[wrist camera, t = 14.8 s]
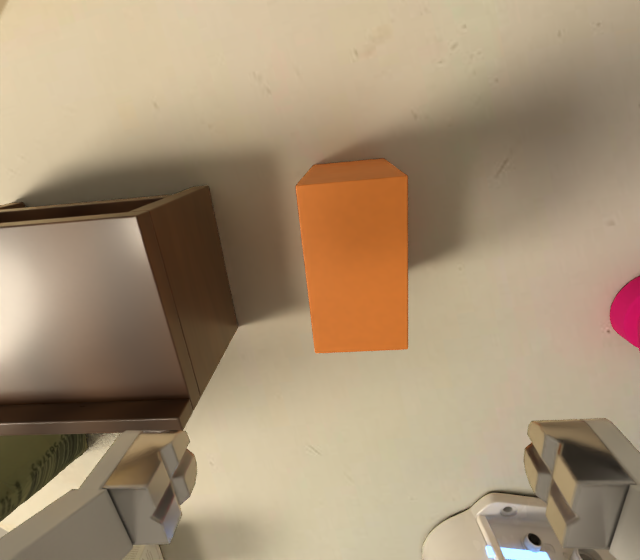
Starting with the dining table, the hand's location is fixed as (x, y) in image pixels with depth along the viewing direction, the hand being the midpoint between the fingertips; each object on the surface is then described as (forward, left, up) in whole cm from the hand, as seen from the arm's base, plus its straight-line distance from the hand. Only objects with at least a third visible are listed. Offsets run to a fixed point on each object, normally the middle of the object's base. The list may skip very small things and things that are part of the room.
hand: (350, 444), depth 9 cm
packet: (0, 0, -20) cm, 20 cm away
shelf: (+18, +2, -20) cm, 27 cm away
